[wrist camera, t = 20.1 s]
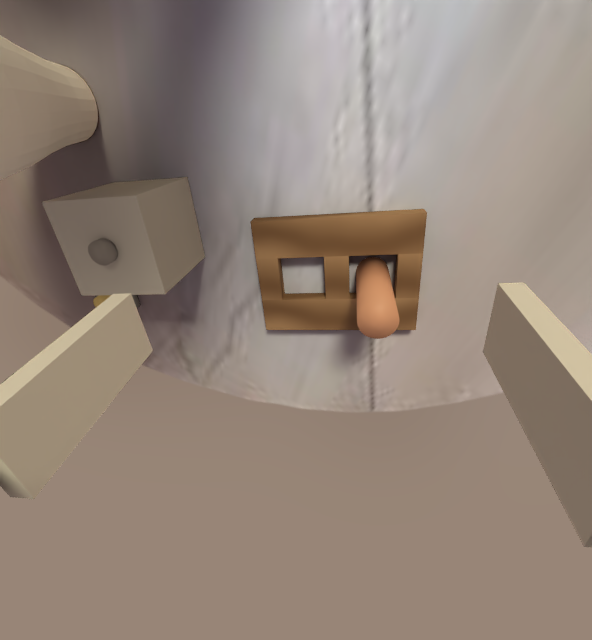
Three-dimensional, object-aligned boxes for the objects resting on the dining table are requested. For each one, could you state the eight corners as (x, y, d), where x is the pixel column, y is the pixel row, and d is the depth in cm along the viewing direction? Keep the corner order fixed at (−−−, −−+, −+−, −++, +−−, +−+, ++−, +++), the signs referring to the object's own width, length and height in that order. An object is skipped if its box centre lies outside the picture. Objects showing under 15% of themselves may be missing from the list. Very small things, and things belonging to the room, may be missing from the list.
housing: (112, 182, 35) (33, 204, 26) (187, 177, 33) (130, 197, 25) (137, 259, 39) (75, 299, 30) (205, 256, 37) (161, 298, 29)
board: (254, 218, 35) (250, 221, 33) (423, 208, 32) (426, 212, 31) (269, 323, 40) (266, 329, 39) (413, 322, 38) (415, 329, 36)
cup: (27, 157, 35) (-136, 178, 23) (-5, 22, 29) (-238, -40, 18) (128, 176, 34) (12, 206, 23) (114, 41, 29) (-46, -9, 17)
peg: (355, 257, 35) (356, 303, 27) (388, 255, 34) (400, 301, 26) (356, 286, 37) (357, 338, 28) (388, 285, 36) (398, 338, 28)
